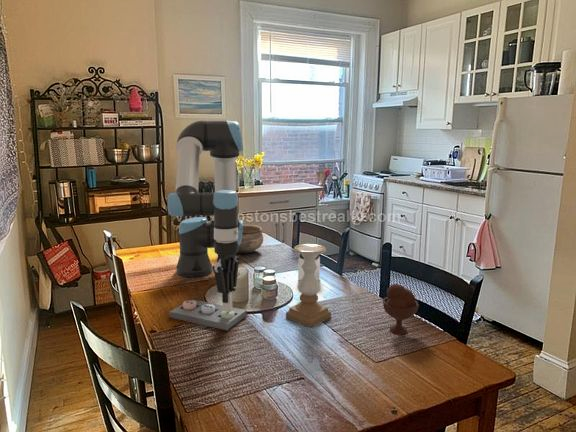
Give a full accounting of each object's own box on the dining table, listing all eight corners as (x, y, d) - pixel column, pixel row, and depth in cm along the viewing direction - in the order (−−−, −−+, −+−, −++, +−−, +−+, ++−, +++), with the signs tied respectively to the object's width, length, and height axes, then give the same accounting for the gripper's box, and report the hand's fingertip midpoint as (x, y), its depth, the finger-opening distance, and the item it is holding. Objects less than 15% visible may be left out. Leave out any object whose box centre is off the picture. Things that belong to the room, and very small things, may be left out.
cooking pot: (217, 248, 229) (217, 225, 227) (251, 244, 238) (251, 221, 236) (236, 261, 208) (236, 235, 206) (272, 256, 217) (272, 231, 215)
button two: (180, 310, 149) (180, 303, 149) (188, 306, 153) (188, 299, 153) (191, 313, 148) (190, 305, 147) (199, 308, 151) (198, 301, 151)
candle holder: (331, 317, 148) (333, 247, 143) (310, 327, 140) (311, 254, 136) (306, 308, 155) (307, 241, 151) (285, 317, 148) (285, 247, 143)
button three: (198, 315, 146) (198, 307, 146) (206, 310, 150) (206, 302, 150) (210, 317, 144) (209, 309, 144) (217, 312, 148) (217, 305, 148)
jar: (323, 280, 184) (324, 252, 182) (308, 284, 179) (309, 255, 176) (308, 274, 191) (309, 247, 188) (294, 278, 186) (294, 250, 183)
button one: (218, 321, 143) (218, 313, 143) (225, 316, 147) (225, 308, 147) (229, 324, 142) (229, 316, 141) (237, 318, 145) (237, 311, 145)
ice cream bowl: (397, 341, 131) (400, 293, 128) (373, 326, 141) (376, 281, 138) (424, 334, 136) (427, 288, 133) (399, 320, 146) (402, 277, 143)
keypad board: (169, 317, 147) (169, 311, 146) (192, 304, 157) (191, 299, 157) (227, 330, 138) (226, 324, 137) (246, 315, 148) (246, 310, 148)
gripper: (225, 246, 132) (226, 320, 137) (247, 236, 143) (247, 305, 148) (204, 243, 135) (206, 316, 140) (227, 234, 146) (228, 301, 151)
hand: (227, 310), depth 144 cm, fingers closed
